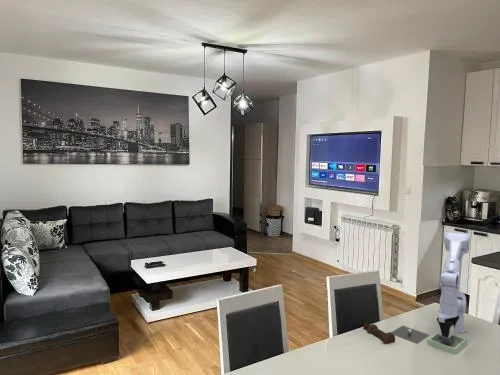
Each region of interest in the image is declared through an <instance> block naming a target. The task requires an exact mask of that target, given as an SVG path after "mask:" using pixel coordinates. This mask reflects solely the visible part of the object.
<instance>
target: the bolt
mask: <svg viewBox="0 0 500 375" xmlns="http://www.w3.org/2000/svg"><path fill="white" fill-rule="evenodd" d="M363 329H364V330H365V331H366V332H367V333H369V334H370V335H373V336H375V337H376V338H379V339H380V340H382V341H383V343H384V344H385V345H390V344H393V343H395V342H396V336H395V335H394V334H393V333H392V332H393V331H389V332H385V331H384V330H383V331H382V330H381V329H379V328H378V326H377V324H375V323H371V324H370V323H367V322H366V323H364V324H363Z"/></svg>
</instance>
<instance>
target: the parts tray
mask: <svg viewBox="0 0 500 375" xmlns="http://www.w3.org/2000/svg"><path fill="white" fill-rule="evenodd" d="M437 340H438V331H437V332H436V333H433V335H432V336H430V337H429V338H427V340H426V342H427V346H430V347H433V348H436V349H439V350H442V351H444V352H447V353H449V354H452V355H456V354H457V353H459V351H461V350H462V349H463V348H464V347H466V346H467V342H468V340H467V338H464V337H461V336H459V335H455V334H454V341H453V342H456V343H458V344H456V345H455V347H452V346H449V345H447V344H444V343H442V342H440V341H439V342H438V341H437Z"/></svg>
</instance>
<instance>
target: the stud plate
mask: <svg viewBox="0 0 500 375" xmlns="http://www.w3.org/2000/svg"><path fill="white" fill-rule="evenodd" d="M391 332H392V333H393V334H394V336H395V337H398V338H400V339H403V340H405V341H408V342H411V343H414V344H416V345H418V344H419V343H421V342H422V341H424V340H425V339H427V338H428V337H429V336H430V334H429V333H425V332H423V331H420V330H416V329H414V328H411V327H408V326H406V325H401V326H399V327H398V328H396V329H394V330H393V331H391Z"/></svg>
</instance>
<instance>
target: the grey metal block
mask: <svg viewBox="0 0 500 375" xmlns="http://www.w3.org/2000/svg"><path fill="white" fill-rule="evenodd" d="M437 332H438V339H437V340H438V341H439V342H443V343H446V344H449V345H450V344H451V343H453V342H455V341H454V335H455V333H454V325H453V324H452V325H451V327H450V331H449V336H448V337H444V336H442V334H441V329H440V325H439V323H438V324H437Z"/></svg>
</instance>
